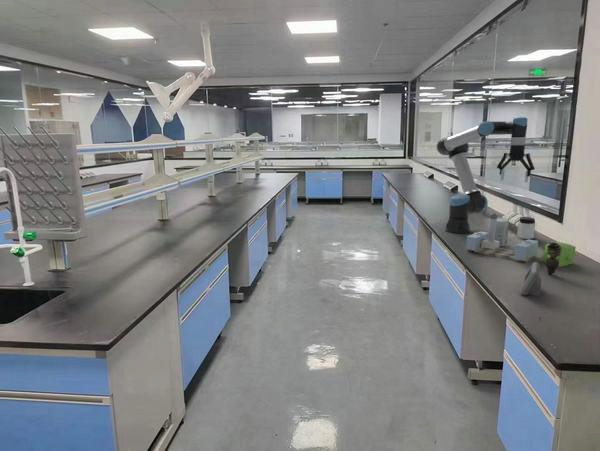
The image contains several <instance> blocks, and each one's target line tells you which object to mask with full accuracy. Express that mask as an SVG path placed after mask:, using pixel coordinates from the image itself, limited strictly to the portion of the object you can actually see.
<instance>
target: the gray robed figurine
mask: <svg viewBox="0 0 600 451" xmlns="http://www.w3.org/2000/svg"><path fill="white" fill-rule="evenodd" d="M540 266H541V265H540V263H539V262H537V261H534V262H532V264H531V266H530V267H529V269H528V271H527V273H526V274H525V275H524V277H523V279H522V281H521V285H520V291H519V293H520V294H521V295H522V296H527V295H531V296H536V297H537V296H538V297H540V296H541V291H542V290H541V289H542V278H541V276H539V275H540Z"/></svg>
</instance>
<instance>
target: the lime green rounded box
mask: <svg viewBox="0 0 600 451" xmlns="http://www.w3.org/2000/svg"><path fill="white" fill-rule="evenodd" d="M554 243H557V244H559V245H560V246H561V247H562V249H561V252H560V255H559V256H558V257H556V259H558V260H559V266H558V267H557V268H560V267H564V266H569V265H572V264H574V258H575V257H576V256H577V254H578V252H577V251H576V246H574V245H572V244H569V243H565V242H562V241H556V242H554ZM548 245H550V243H547V244H545V246H544V252H543V258H542V262H543V263H544V264H546V259H547V258H550V255H549V254H548V253H547V252H548V250H547V249H548V247H547V246H548Z"/></svg>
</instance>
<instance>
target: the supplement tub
mask: <svg viewBox="0 0 600 451" xmlns="http://www.w3.org/2000/svg"><path fill="white" fill-rule="evenodd" d="M509 222H510V220H508V219H507V218H501V217H497V221H496V231H495V240H496V241H500V245H499V247H505V246H507V244H508V235H509V234H508V233H509V224H510V223H509Z"/></svg>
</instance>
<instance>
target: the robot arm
mask: <svg viewBox="0 0 600 451" xmlns="http://www.w3.org/2000/svg"><path fill="white" fill-rule="evenodd" d="M527 129H528V118H527V117H514V118H513V120H511V121H508V120H507V121H482V122H481V123H480V124H478V125H477V126H474V127H471V128H470V129H467V130H464V131H462V132H460V133H457V134H455V135H453V136H449V135H448V136H445V137H443V138H441V139H440V140H438V142H437V144H436V150H437V153H439V154H440V155H442V156H449V160H450V161H452V162H453V164H454V167H455V172H456V173H457V176H458V180H459V182H460V186H461V190H462V191H463V194H456V195H455V194H454V195H453V196H451V197H450V200H449V211H448V212H449V213H448V220H447V222H446V225H445V229H444V230H445V231H446V232H448V233H453V234H454V233H455V234H468V233H470V232H471V227H470V222H469V215H470V214H479V213H483V212H484V211H485V210H486V209H487V207H488V201H489V200H488V198H487V196H485V195H484V194H482V192H481V190H480V189H477V188H478V187H477V185H476V182H475V178H474V176H473V173H472V170H471V168H470V164H469V161H468V158H467V156H468V152H469V150H470V144H469V143H472V142H474V141H477V140H479V139H482V138H484V137H485V138H486V137H488V136H491V135H492V136H493V135H511V137H510V148H509V152H504V153H503V156H502V158H501V160H500V161H499V163H498V165H497V166H496V168H497V169H499V175H500V181H504V180H505V171H506V170H505V168H506V167H507V166H508V165H509V164H510V163H511V162H520V163H521V164H522V165H523V167H524V168H525V169H526V170H525V176H524V183H528V182H529V177H530V176H531V173H532V171H534V170H535V166H534V164H533V162H532V161H533V160H532V158H531V153H525V149H526V148H525V147H526V146H525V145H526V138H527ZM507 157H509V158H508V159H507ZM524 157H525V158H526V159H524ZM506 159H507V161H506ZM505 161H506V162H505ZM526 161H527V162H526Z"/></svg>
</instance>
